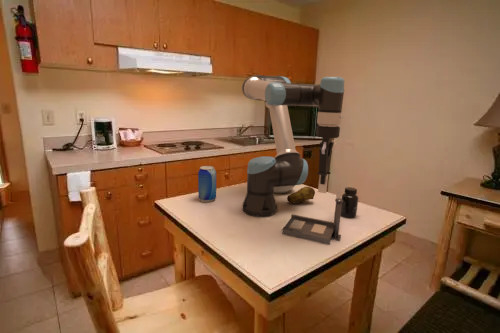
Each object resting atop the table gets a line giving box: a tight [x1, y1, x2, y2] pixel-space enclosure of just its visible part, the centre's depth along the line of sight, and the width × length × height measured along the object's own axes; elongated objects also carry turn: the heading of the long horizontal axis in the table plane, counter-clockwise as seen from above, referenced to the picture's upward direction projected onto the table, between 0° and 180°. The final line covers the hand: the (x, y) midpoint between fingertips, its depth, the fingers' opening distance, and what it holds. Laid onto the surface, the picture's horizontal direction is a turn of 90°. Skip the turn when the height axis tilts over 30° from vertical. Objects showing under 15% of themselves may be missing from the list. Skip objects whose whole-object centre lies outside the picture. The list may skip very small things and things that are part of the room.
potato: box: [286, 186, 316, 204], centre depth 135 cm, size 8×13×8 cm, turn 81°
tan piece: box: [335, 187, 342, 199], centre depth 109 cm, size 18×2×7 cm, turn 163°
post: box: [331, 198, 343, 242], centre depth 100 cm, size 4×4×15 cm
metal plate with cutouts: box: [281, 214, 334, 246], centre depth 106 cm, size 17×12×3 cm
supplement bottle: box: [340, 186, 359, 219], centre depth 121 cm, size 7×7×12 cm
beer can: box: [197, 165, 217, 203], centre depth 134 cm, size 8×8×16 cm
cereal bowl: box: [274, 186, 295, 194], centre depth 152 cm, size 17×17×7 cm
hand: (322, 192), depth 101 cm, fingers closed
